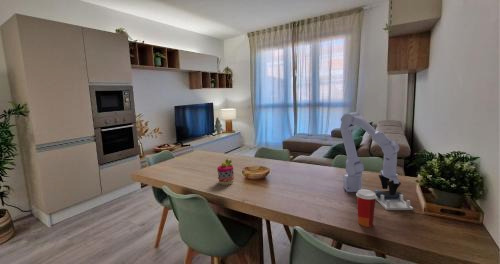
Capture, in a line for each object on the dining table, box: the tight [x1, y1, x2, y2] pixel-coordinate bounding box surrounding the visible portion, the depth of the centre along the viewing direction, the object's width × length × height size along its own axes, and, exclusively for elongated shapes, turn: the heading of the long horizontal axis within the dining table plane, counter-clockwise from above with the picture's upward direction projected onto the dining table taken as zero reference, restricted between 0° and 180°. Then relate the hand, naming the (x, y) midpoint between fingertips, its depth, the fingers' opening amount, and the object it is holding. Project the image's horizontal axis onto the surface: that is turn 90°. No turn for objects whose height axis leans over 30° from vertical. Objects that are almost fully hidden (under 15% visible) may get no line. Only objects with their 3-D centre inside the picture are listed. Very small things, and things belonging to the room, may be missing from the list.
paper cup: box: [355, 188, 377, 228], centre depth 101 cm, size 8×8×14 cm
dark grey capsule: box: [376, 190, 402, 198], centre depth 121 cm, size 12×4×4 cm, turn 86°
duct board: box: [374, 189, 414, 211], centre depth 118 cm, size 12×15×4 cm
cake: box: [217, 158, 235, 186], centre depth 155 cm, size 10×11×15 cm
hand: (388, 191), depth 121 cm, fingers open, 7 cm apart
